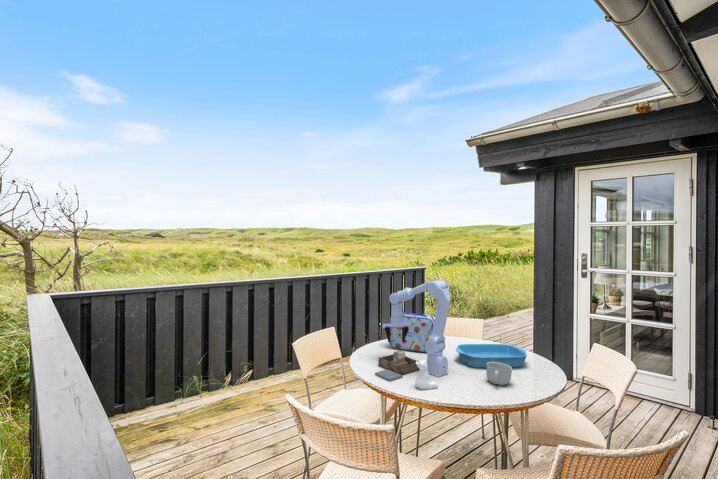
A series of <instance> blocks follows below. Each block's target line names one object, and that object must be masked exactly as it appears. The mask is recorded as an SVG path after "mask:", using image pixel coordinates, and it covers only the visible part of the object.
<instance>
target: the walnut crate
mask: <svg viewBox="0 0 718 479" xmlns="http://www.w3.org/2000/svg"><path fill="white" fill-rule="evenodd" d="M416 361H417V362H419V361H420V360H417V359H414V358H411V357H410V356H409V357H408V356H406V355H405V362H404V363H400V364H398V363H396V362H394V353H393V354H389V355H386V356H380V357H378V367H380V368H381V369H383V370H387V369H388V370H390V371H393V372H395V373H397V374H400V375H402V376H404V375H408V374H412V373H414V372H415V373H416V372H419V371H420V369H419V368H418V367H417V365H416Z"/></svg>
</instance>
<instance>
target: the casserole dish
mask: <svg viewBox="0 0 718 479" xmlns="http://www.w3.org/2000/svg"><path fill="white" fill-rule="evenodd" d="M455 351H456V353H458V355H459V357H460V359H461V360H462V361H463V362H464V363H465V364H467V365H468V366H469V367H471V368H475V367H476V368H477V369H487V363H488V362H499V363H503V364H507V365H509V366H511V367H515V368H519V366H520V367H521V366H523V365H524V363H525V361H526V358H527V356H528V355H527V351H526V349H523V348H521V347H518V346H515V345H511V344H504V343H463V344H462V343H461V344H458V345H457V346H456V348H455Z"/></svg>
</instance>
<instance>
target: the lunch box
mask: <svg viewBox="0 0 718 479" xmlns="http://www.w3.org/2000/svg"><path fill="white" fill-rule="evenodd" d="M388 320H389V321H388V323H391V316H390V318H389V319H388ZM434 321H435V317H433V316H432V315H430V314H425V313H423V312H422V313H413V312H405V311H404V312H403V311H402V323H407V324H410V328H408V329H409V331H408V333H407V335H406V337H405V341H404V342H403V341H402V328H390V330H391V332H390V342H388V344H389V346H390V347H391V348H393V349H396V350H401V351H409V352H417V353H420V352H421V353H427V352H426V350H425V344H426V342H427V341H428V338H429V336H430V335H431V334H432V330H433V325H434Z"/></svg>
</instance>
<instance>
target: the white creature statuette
mask: <svg viewBox="0 0 718 479" xmlns="http://www.w3.org/2000/svg"><path fill="white" fill-rule="evenodd" d="M417 361H419V362H417ZM417 361H416V365H417V367H418V368H419V369H420V370H419V371H417V377H416V379H415V386H416V388H417V389H420V390H421V389H422V391H425V390H433V389H434V390H435V389H437V388H439V384H438V383H437V382H435V381H432V382H431V381H430V379H429V378H430V376H431V374H429V373H428V370H427V369H428V365H427V361H426V360H425V359H420V360H417Z"/></svg>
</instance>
